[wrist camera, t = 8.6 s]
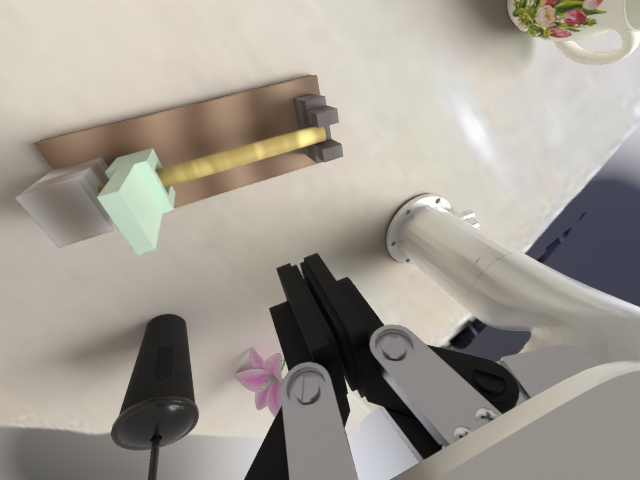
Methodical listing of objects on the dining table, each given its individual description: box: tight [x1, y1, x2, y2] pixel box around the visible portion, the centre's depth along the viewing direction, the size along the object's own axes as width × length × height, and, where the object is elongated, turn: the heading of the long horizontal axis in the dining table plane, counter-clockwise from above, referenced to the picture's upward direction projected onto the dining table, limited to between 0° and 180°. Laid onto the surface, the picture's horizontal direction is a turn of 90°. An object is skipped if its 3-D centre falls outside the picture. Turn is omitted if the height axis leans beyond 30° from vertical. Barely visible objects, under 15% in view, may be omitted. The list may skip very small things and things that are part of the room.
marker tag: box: [97, 148, 175, 256], centre depth 22 cm, size 3×4×10 cm
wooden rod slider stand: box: [15, 75, 343, 248], centre depth 27 cm, size 26×9×8 cm, turn 101°
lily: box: [235, 348, 286, 417], centre depth 48 cm, size 12×12×10 cm
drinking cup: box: [111, 314, 199, 480], centre depth 32 cm, size 8×8×20 cm
